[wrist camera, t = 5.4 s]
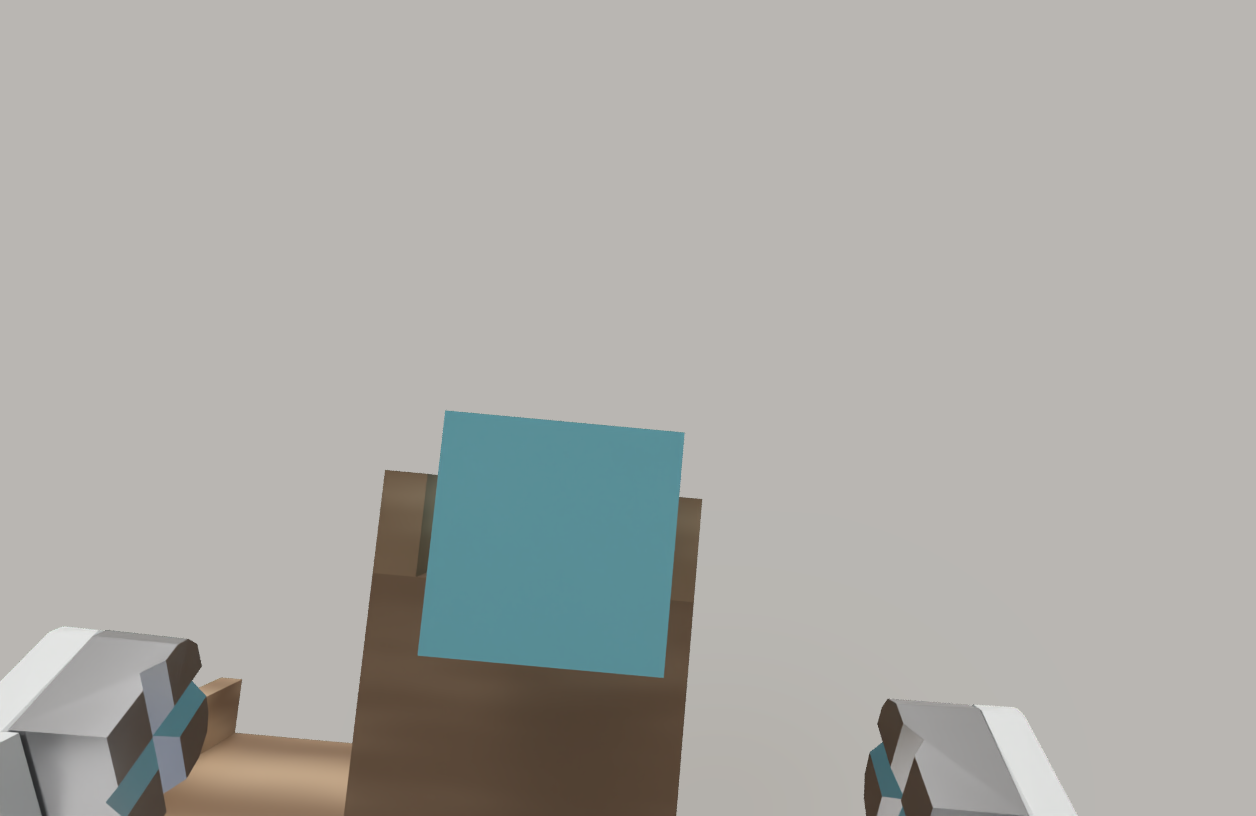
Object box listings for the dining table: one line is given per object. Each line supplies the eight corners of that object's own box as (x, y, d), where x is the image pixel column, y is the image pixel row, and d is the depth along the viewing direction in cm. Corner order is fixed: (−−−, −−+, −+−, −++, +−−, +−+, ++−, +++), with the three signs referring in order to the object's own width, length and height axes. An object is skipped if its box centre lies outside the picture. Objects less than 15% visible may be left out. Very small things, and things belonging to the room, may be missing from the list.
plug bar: (545, 552, 32) (554, 466, 32) (631, 560, 32) (639, 473, 32) (417, 655, 11) (445, 411, 12) (664, 678, 11) (684, 432, 12)
